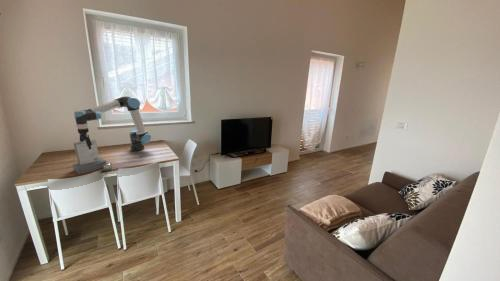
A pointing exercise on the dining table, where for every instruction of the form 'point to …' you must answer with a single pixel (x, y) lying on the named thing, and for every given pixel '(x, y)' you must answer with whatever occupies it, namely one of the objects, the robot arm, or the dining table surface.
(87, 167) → the stand
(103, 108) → the robot arm
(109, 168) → the metal tin
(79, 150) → the hard drive box
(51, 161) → the dining table surface
